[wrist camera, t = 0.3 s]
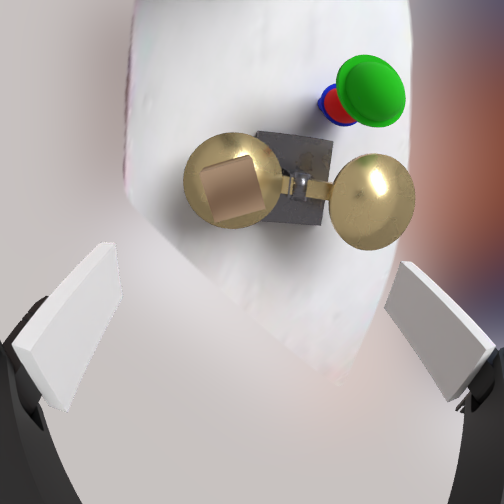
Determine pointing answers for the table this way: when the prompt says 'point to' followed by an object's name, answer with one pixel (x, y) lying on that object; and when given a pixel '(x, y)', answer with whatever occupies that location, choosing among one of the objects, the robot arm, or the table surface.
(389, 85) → the toy
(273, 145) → the balance
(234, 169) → the walnut block
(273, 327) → the table surface
